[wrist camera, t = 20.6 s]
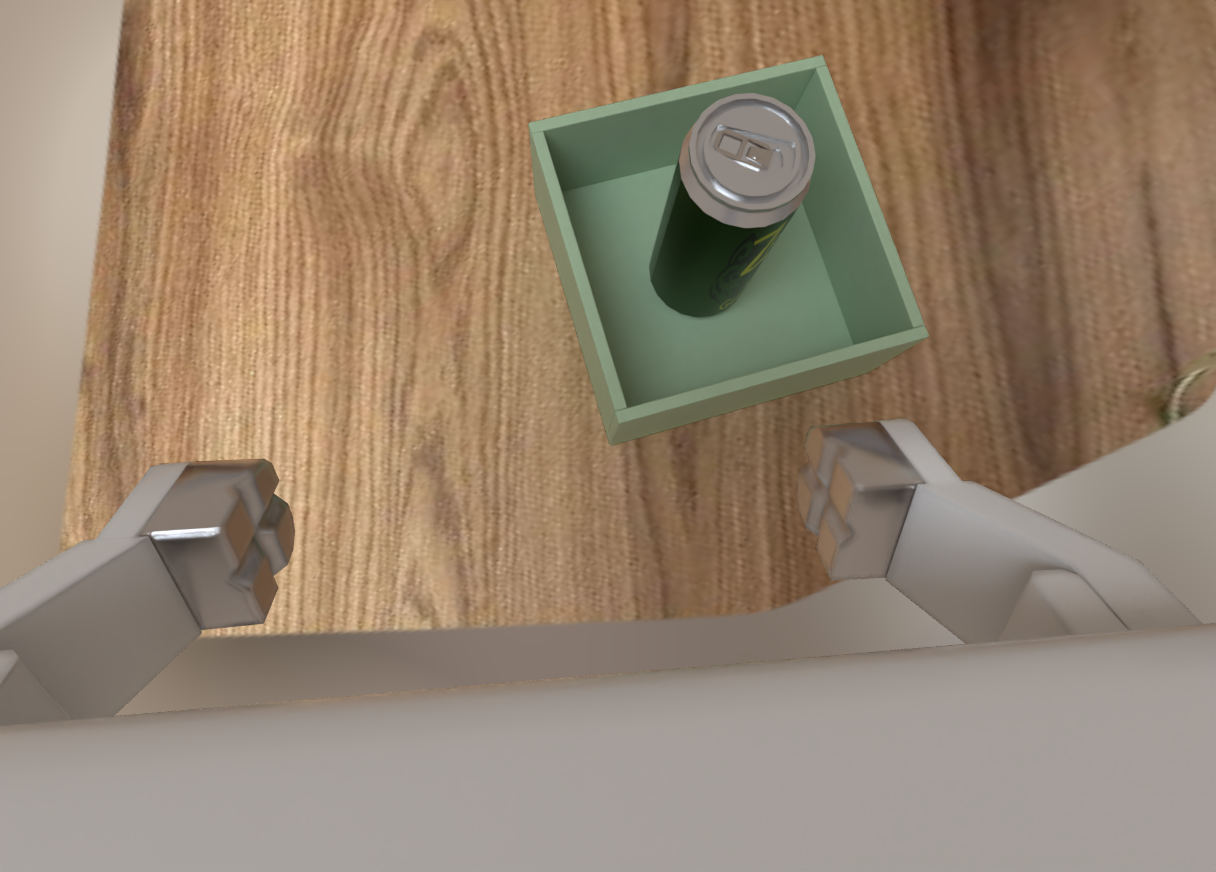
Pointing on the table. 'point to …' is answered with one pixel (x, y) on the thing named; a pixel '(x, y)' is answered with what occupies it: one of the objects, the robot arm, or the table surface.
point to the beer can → (729, 201)
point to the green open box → (773, 298)
